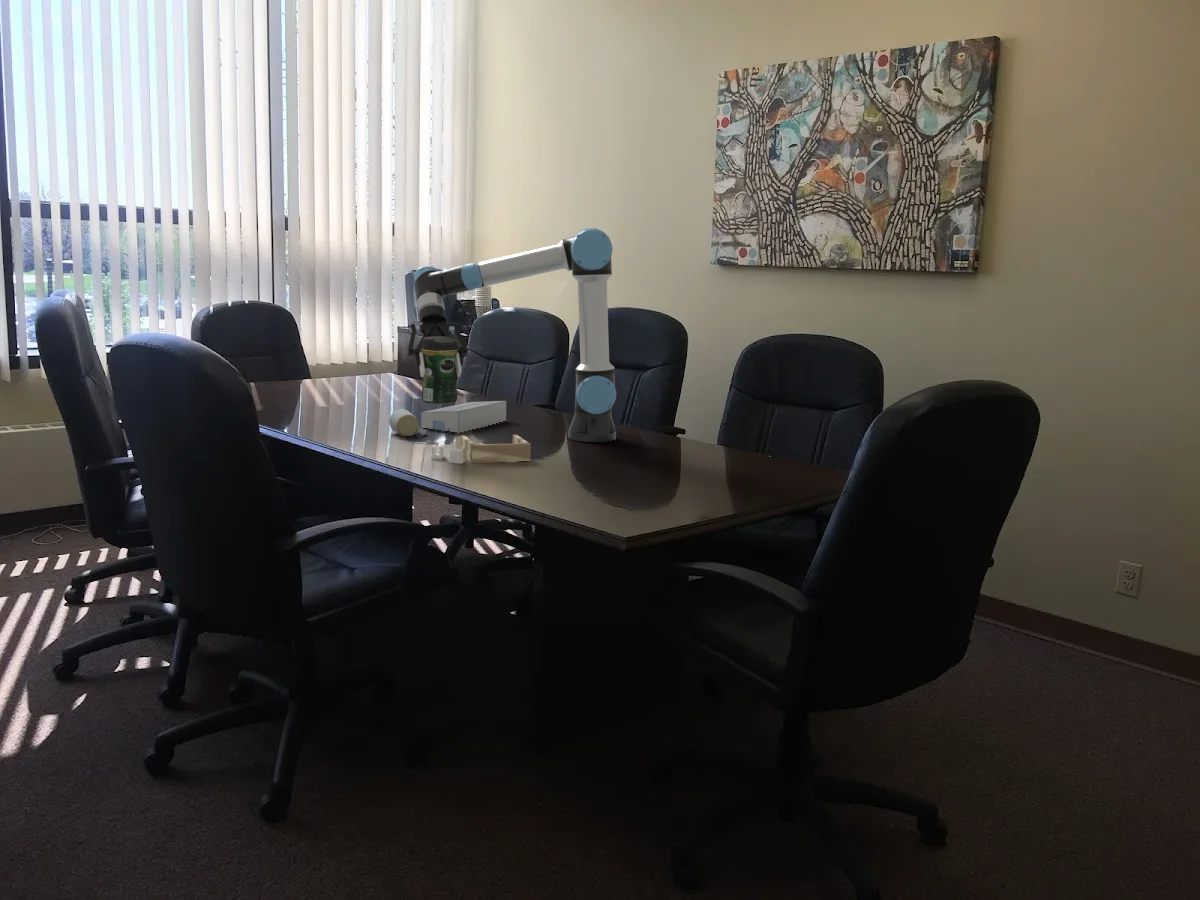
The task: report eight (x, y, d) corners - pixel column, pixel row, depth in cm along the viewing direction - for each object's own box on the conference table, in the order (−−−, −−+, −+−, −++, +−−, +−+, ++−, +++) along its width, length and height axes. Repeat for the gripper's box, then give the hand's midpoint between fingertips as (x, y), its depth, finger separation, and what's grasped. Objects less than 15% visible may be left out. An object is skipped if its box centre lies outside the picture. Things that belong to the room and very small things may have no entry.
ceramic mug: (396, 438, 292) (397, 413, 291) (388, 433, 299) (389, 409, 298) (430, 437, 298) (430, 412, 296) (421, 432, 305) (422, 408, 303)
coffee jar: (444, 399, 277) (446, 334, 273) (461, 403, 272) (462, 337, 268) (416, 401, 270) (417, 335, 267) (432, 405, 265) (433, 337, 261)
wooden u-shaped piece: (460, 452, 275) (460, 435, 274) (516, 451, 281) (516, 434, 280) (472, 463, 261) (472, 445, 260) (530, 461, 267) (530, 444, 266)
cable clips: (437, 455, 269) (437, 443, 269) (470, 462, 263) (470, 449, 262) (425, 458, 265) (425, 446, 265) (458, 464, 259) (458, 452, 258)
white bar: (470, 418, 338) (470, 396, 336) (506, 422, 332) (506, 400, 331) (420, 429, 311) (421, 406, 309) (458, 434, 305) (459, 411, 304)
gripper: (467, 321, 285) (478, 382, 273) (391, 320, 277) (399, 382, 266) (471, 304, 279) (483, 365, 267) (394, 302, 271) (402, 365, 260)
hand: (441, 374), depth 266 cm, fingers closed on coffee jar, 9 cm apart
